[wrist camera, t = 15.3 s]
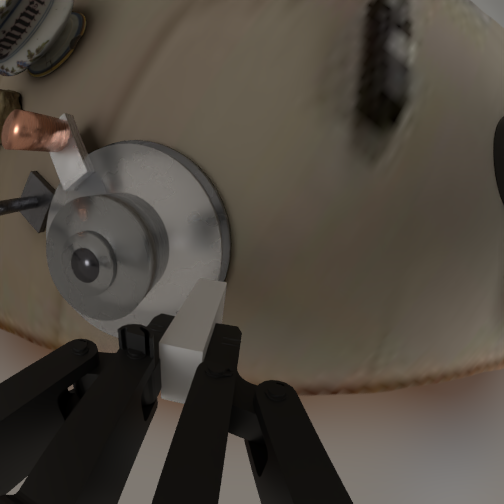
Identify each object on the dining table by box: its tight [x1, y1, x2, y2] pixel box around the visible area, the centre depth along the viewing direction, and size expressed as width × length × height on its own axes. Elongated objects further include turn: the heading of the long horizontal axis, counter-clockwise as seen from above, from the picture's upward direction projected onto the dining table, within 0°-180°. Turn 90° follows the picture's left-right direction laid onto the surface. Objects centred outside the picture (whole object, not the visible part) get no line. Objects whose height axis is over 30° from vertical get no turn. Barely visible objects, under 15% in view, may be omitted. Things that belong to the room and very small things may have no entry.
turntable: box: [1, 109, 223, 338], centre depth 18 cm, size 18×22×9 cm
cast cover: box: [46, 192, 169, 321], centre depth 18 cm, size 9×9×6 cm
